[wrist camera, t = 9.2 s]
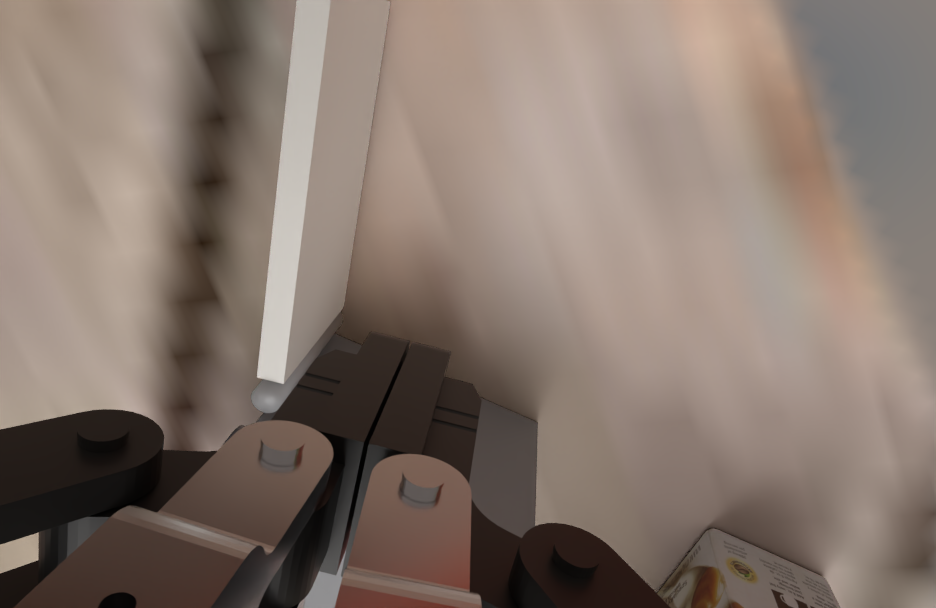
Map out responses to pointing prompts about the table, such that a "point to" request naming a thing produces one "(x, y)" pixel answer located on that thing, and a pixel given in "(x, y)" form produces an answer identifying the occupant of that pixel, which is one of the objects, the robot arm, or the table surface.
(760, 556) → the coffee box
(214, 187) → the table surface
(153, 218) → the table surface
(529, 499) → the block
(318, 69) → the side door
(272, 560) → the robot arm
